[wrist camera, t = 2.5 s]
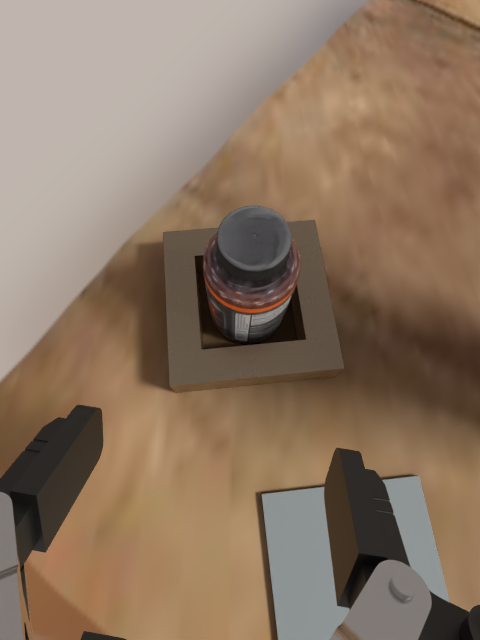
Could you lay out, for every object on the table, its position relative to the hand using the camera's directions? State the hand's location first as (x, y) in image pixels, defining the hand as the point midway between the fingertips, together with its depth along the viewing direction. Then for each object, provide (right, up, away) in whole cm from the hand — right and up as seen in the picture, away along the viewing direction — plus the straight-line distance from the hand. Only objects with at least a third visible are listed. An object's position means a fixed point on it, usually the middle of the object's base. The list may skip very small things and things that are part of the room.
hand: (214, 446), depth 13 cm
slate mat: (+8, -12, +12) cm, 19 cm away
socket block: (+1, +5, +18) cm, 18 cm away
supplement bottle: (+1, +5, +18) cm, 19 cm away
